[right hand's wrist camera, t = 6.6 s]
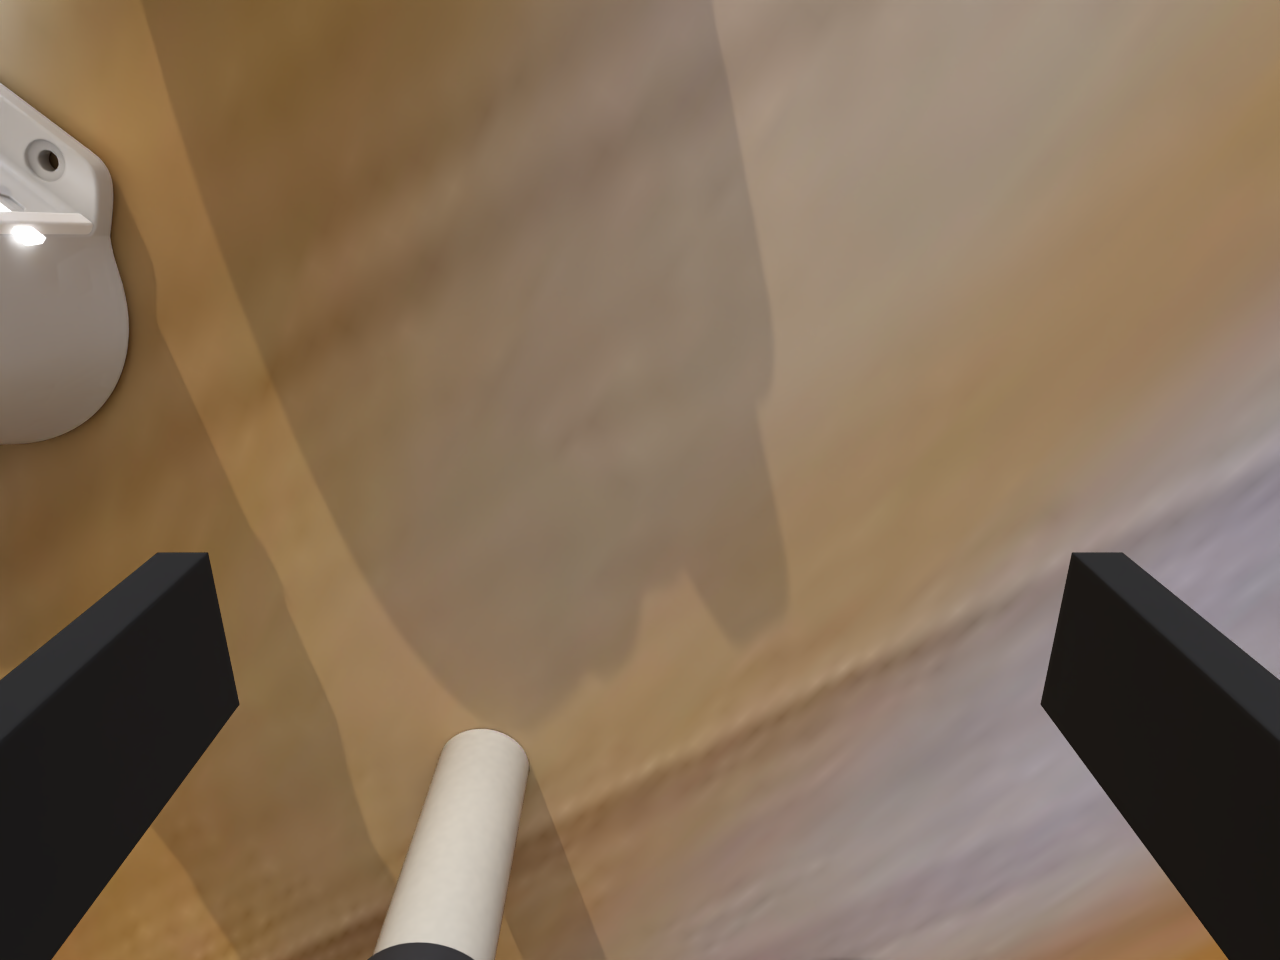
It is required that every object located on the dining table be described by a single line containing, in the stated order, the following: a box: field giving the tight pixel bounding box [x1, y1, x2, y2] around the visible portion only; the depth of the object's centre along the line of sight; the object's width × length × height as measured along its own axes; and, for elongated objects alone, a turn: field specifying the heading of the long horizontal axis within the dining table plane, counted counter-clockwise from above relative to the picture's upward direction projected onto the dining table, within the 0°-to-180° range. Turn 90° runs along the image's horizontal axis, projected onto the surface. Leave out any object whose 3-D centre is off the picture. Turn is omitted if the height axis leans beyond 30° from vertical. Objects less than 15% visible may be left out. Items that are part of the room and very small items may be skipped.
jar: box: [372, 729, 529, 960], centre depth 41 cm, size 5×5×16 cm
